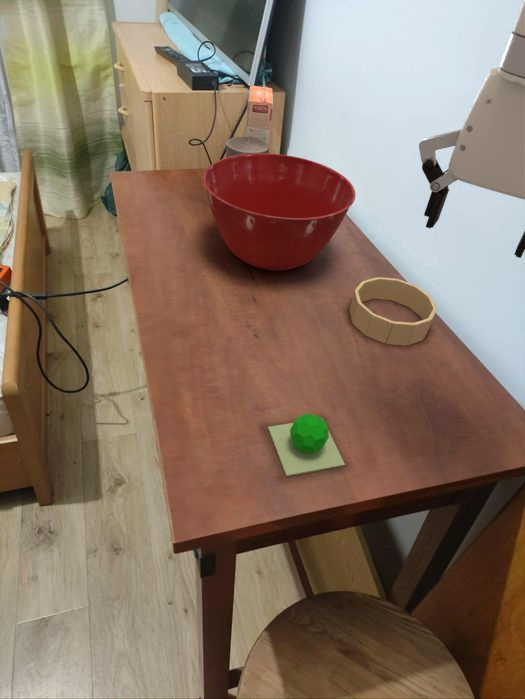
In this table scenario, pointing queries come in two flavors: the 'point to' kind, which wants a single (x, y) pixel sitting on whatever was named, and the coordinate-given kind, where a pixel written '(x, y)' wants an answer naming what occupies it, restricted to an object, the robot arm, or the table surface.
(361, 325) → the hollow cylinder
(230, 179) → the mixing bowl
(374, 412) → the table surface
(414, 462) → the table surface
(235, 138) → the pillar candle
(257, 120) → the cracker box
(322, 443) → the polyhedron
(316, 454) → the mat
